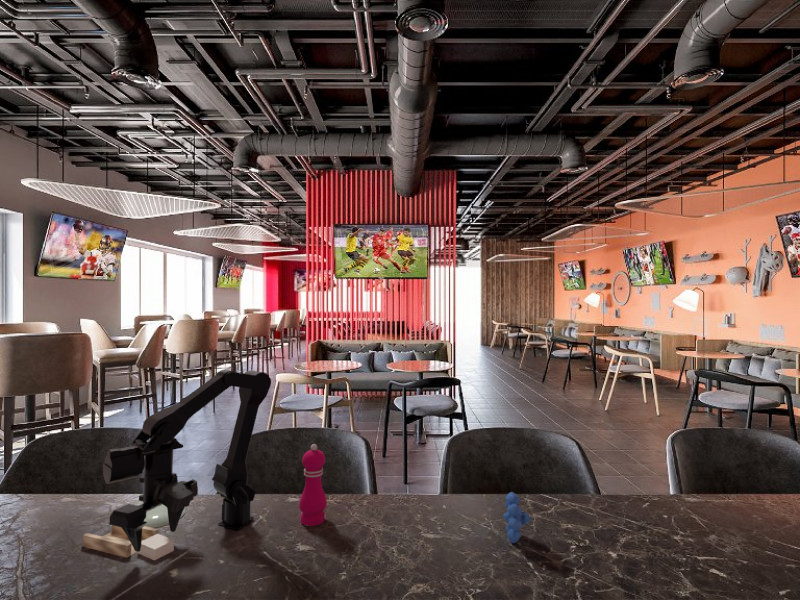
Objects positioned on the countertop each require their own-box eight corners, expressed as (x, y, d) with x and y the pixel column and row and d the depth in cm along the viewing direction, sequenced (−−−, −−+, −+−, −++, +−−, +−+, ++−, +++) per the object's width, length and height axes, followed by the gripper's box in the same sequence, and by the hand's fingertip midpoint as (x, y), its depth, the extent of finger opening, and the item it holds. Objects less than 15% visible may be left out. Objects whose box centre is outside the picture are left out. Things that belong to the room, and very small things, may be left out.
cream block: (173, 553, 97) (174, 540, 97) (154, 563, 93) (154, 549, 93) (157, 546, 100) (157, 533, 100) (137, 556, 96) (138, 542, 96)
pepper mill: (320, 528, 109) (321, 449, 110) (293, 525, 110) (295, 447, 111) (330, 515, 116) (331, 441, 117) (305, 513, 117) (307, 439, 118)
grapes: (535, 557, 96) (535, 503, 97) (504, 554, 97) (504, 501, 98) (528, 532, 108) (527, 483, 108) (500, 529, 109) (500, 482, 109)
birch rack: (158, 541, 101) (158, 529, 102) (126, 559, 94) (127, 545, 94) (115, 531, 106) (115, 519, 106) (82, 547, 98) (82, 534, 99)
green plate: (196, 510, 118) (196, 507, 118) (152, 534, 105) (152, 531, 105) (158, 503, 122) (158, 500, 122) (111, 525, 109) (111, 522, 109)
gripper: (149, 491, 86) (146, 570, 85) (216, 462, 104) (214, 528, 103) (109, 484, 90) (106, 560, 89) (181, 457, 107) (179, 520, 107)
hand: (156, 540), depth 97 cm, fingers open, 9 cm apart
